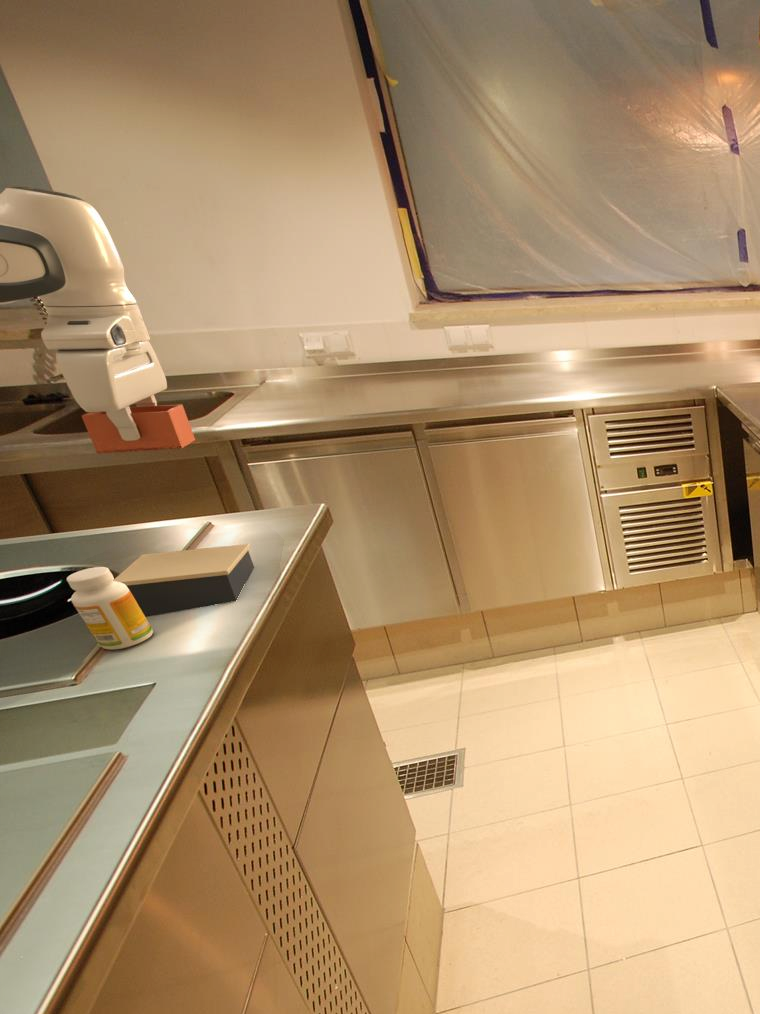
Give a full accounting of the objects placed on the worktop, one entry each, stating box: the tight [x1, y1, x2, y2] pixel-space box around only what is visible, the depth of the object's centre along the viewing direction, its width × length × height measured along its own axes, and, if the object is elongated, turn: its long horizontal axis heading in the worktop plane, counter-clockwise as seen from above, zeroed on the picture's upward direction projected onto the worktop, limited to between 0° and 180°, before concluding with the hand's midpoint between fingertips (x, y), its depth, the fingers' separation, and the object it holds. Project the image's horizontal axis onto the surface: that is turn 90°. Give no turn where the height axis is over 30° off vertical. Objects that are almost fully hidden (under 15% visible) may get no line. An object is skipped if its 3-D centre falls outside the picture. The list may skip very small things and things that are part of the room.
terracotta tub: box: [81, 404, 196, 454], centre depth 115 cm, size 9×6×5 cm, turn 116°
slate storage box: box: [113, 543, 255, 618], centre depth 121 cm, size 13×13×6 cm
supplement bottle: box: [66, 566, 154, 650], centre depth 107 cm, size 5×5×10 cm
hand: (143, 434), depth 116 cm, fingers closed on terracotta tub, 6 cm apart
